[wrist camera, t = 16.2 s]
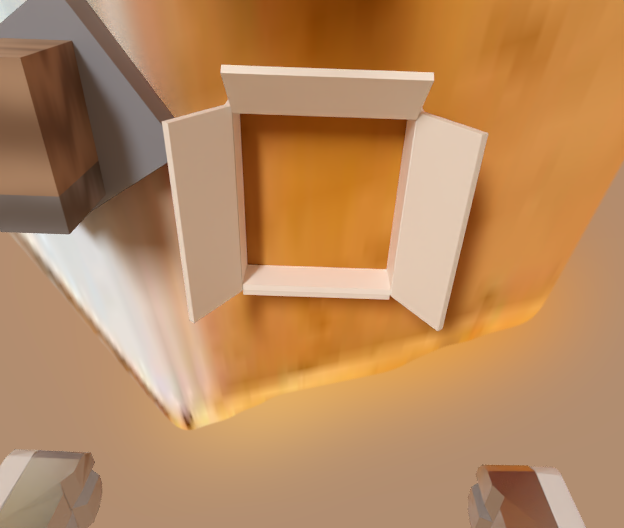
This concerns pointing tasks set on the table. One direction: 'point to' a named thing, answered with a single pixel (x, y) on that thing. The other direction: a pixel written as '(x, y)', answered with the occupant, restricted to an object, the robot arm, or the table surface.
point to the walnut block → (44, 139)
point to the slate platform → (102, 89)
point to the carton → (327, 103)
